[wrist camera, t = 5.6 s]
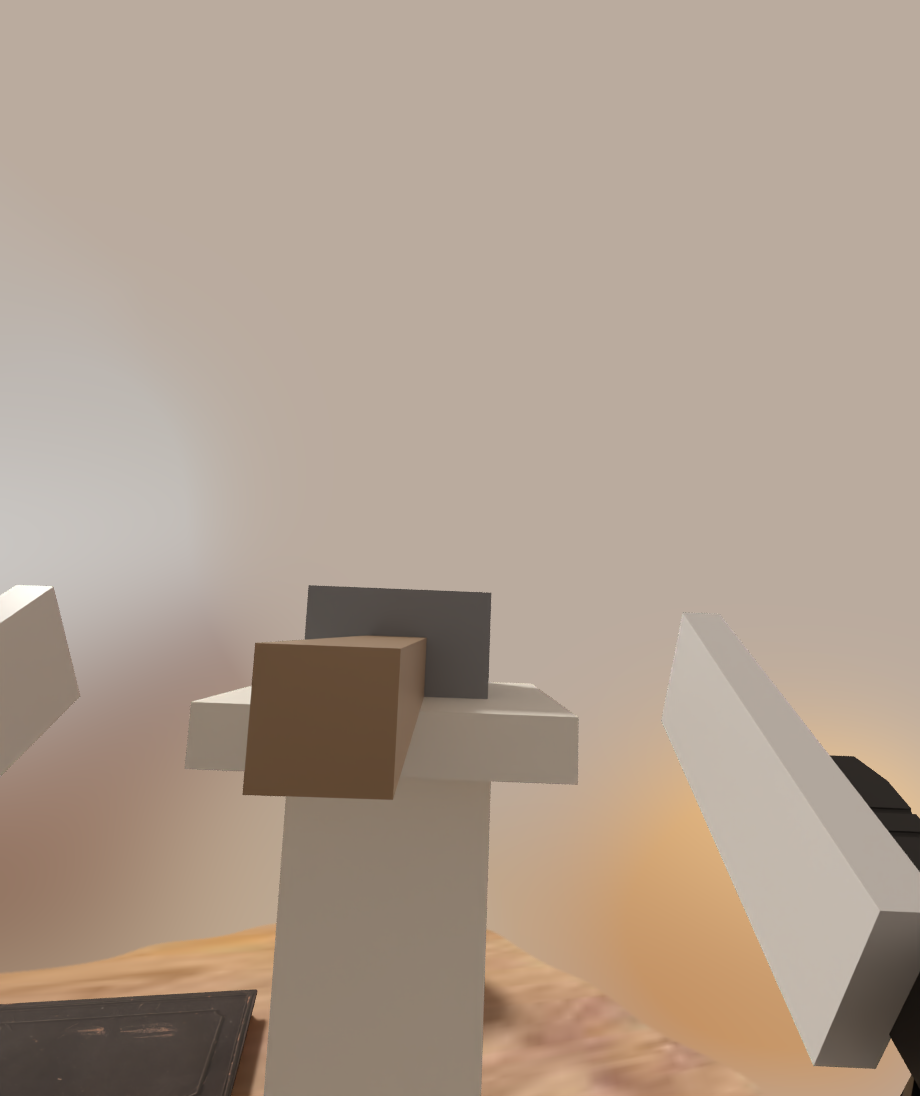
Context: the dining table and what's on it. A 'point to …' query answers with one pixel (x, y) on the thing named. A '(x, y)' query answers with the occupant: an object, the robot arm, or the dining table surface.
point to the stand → (392, 897)
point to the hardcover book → (125, 1045)
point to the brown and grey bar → (359, 688)
